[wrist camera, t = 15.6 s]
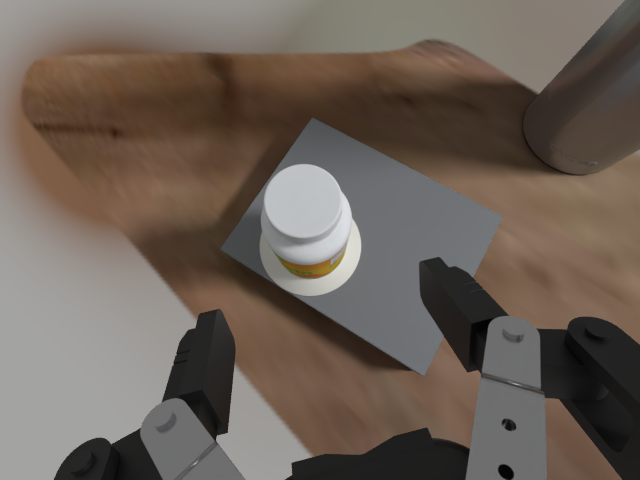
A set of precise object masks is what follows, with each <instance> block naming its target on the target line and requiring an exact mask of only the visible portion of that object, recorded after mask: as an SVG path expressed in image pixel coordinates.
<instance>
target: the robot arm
mask: <svg viewBox="0 0 640 480" xmlns="http://www.w3.org/2000/svg"><path fill="white" fill-rule="evenodd" d="M523 131H524V134H525V138H526V140H527V142H528V144H529V146H530V148H531V149H532V150H533V152H534V153H535V154H536V155H537V156H538V157H539V158H540V159H541V160H543V161H544V162H545V163H546V164H548V165H550V166H552V167H553V168H555V169H558V170H560V171H563V172H566V173H571V174H592V173H597V172H599V171H602V170H604V169H606V168H608V167H610V166H611V165H613V164H615V163H617V162H618V161H620V160H622V159H624V158H625V157H627V156H629V155H631V154H633V153H634V152H636V151H638V150H639V149H640V0H625V1H624V2H623V3H622V4H621V5H620V6H619V7H618V8H617V9H616V10H615V12H614V13H613V14H612V15H611V16H610V17H609V18H608V19H607V20H606V21H605V23H604V24H603V25H602V26H601V27H600V28H599V29H598V30H597V31H596V33H595V34H594V35H593V36H592V37H591V38H590V39H589V40H588V41H587V42H586V43H585V45H584V46H583V47H582V48H581V49H580V50H579V51H578V52H577V53H576V55H575V56H574V57H573V58H572V59H571V60H570V61H569V62H568V63H567V64H566V65H565V66H564V68H563V69H562V70H561V71H560V72H559V73H558V74H557V75H556V76H555V77H554V79H553V80H552V81H551V82H550V83H549V84H548V85H547V86H546V87H545V88H544V90H543V91H542V92H541V93H540V94H539V95H538V96H537V97H536V98H535V99H534V101H533V102H532V103H531V104H530V105H529V106H528V108H527V110H526V112H525V115H524V119H523ZM419 283H420V296H421V299H422V302H423V304H424V306H425V308H426V309H427V311H428V312H429V314H430V315H431V317H432V318H433V320H434V322H435V323H436V325H437V326H438V328H439V329H440V331H441V332H442V334H443V335H444V337H445V339H446V340H447V342H448V343H449V345H450V346H451V348H452V349H453V351H454V352H455V354H456V356H457V357H458V359H459V360H460V362H461V363H462V365H463V366H464V368H465V369H466V371H467V373H468V372H471V371H475V370H479V372H480V373H481V378H480V385H479V391H478V398H477V405H476V412H475V419H474V425H473V432H472V439H471V446H470V449H469V448H467V447H465V446H463V445H461V444H458V443H456V442H452V441H449V440H444V439H438V438H432V437H431V435H430V433H429V430H428V428H423V429H419V430H415V431H412V432H408V433H404V434H400V435H396V436H394V437H392V438H390V439H388V440H387V441H385V442H383V443H382V444H380V445H378V446H377V447H375V448H373V449H372V450H370V451H368V452H367V453H365V454H362V455H342V454H324V455H320V456H316V457H312V458H308V459H305V460H301V461H297V462H293V463H292V476H290V477H288V478H287V479H285V480H547V464H546V421H545V398H556V399H559V400H560V401H561V402H562V403H563V405H564V406H565V407H566V409H567V410H568V411H569V412H570V414H571V415H572V416H573V417H574V419H575V420H576V421H577V422H578V424H579V425H580V426H581V428H582V429H583V430H584V431H585V433H586V434H587V435H588V436H589V438H590V439H591V440H592V441H593V443H594V444H595V445H596V447H597V448H598V449H599V450H600V452H601V453H602V454H603V455H604V457H605V458H606V459H607V461H608V462H609V463H610V464H611V466H612V467H613V468H614V469H615V471H616V472H617V473H618V474H619V476H620V477H621V478H622V480H640V345H639V344H638V343H637V342H636V341H635V340H633V339H632V338H631V337H630V336H628V335H627V334H626V333H625V332H624V331H622V330H621V329H620V328H618V327H617V326H616V325H614V324H612V323H610V322H608V321H605V320H602V319H599V318H594V317H578V318H575V319H573V320H571V321H570V323H569V325H568V328H567V330H563V329H537V328H535V327H534V326H533V325H532V324H531V323H529V322H527V321H525V320H523V319H521V318H518V317H513V316H509V315H508V314H507V313H506V312H505V311H504V310H503V309H502V308H501V307H500V306H499V305H498V304H497V303H496V302H495V300H494V299H493V298H492V297H491V296H490V295H489V294H488V293H487V292H486V291H485V290H483V288H482V287H481V286H480V285H479V284H478V283H476V281H475V279H474V278H473V277H472V276H471V275H470V274H469V273H468V272H466V271H464V270H462V269H460V268H458V267H456V266H453V267H448V266H447V265H446V263H445V262H444V261H443V260H442V259H441V258H440V257H436V258H431V259H427V260H423V261H420V262H419ZM234 362H235V342H234V338H233V335H232V333H231V331H230V328H229V326H228V324H227V322H226V319H225V317H224V315H223V313H222V311H221V310H220V309H217V310H213V311H208V312H204V313H200V314H199V316H198V320H197V324H196V328H195V329H191V330H188V331H187V333H186V334H185V335H184V337H183V338H182V339H181V341H180V343H179V346H178V350H177V355H176V356H175V360H174V365H173V366H172V370H171V373H170V376H169V380H168V383H167V387H166V390H165V393H164V397H163V400H162V403H160V404H159V405H157V406H156V407H155V408H154V409H152V410H151V411H150V413H149V414H148V415H147V416H146V418H145V419H144V421H143V423H142V426H141V428H140V429H138V430H137V431H135V432H133V433H131V434H129V435H128V436H126V437H124V438H122V439H120V440H118V441H117V442H115V443H113V444H110V442H109V441H108V440H106V439H105V438H95V439H92V440H89V441H87V442H85V443H83V444H82V445H80V446H79V447H78V448H76V449H75V450H74V451H73V452H72V453H70V455H69V456H68V457H67V458H66V459H65V460H64V462H63V463H62V464H61V466H60V468H59V470H58V471H57V474H56V476H55V478H54V480H245V479H244V477H243V476H242V474H241V473H240V472H239V470H238V469H237V468H236V467H235V465H234V464H233V463H232V461H231V460H230V459H229V457H228V456H227V455H226V454H225V452H224V451H223V450H222V448H221V447H220V445H219V444H218V443H217V442H216V436H217V435H221V434H225V433H228V423H229V413H230V403H231V393H232V383H233V372H234Z"/></svg>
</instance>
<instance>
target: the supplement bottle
mask: <svg viewBox="0 0 640 480" xmlns="http://www.w3.org/2000/svg"><path fill="white" fill-rule="evenodd" d="M351 225H352V213H351V208H350V205H349V202H348V200H347V198H346V197H345V195H344V194H343V193H342V191H341V189H340V187H339V185H338V183H337V181H336V180H335V179H334V177H333V176H332V175H331V174H330V173H328V172H327V171H326V170H324V169H322V168H320V167H317V166H314V165H309V164H298V165H293V166H290V167H287V168H285V169H283V170H282V171H280V172H279V173H277V174H276V175H275V176H274V177H273V178H272V180H271V181H270V183H269V184H268V186H267V188H266V191H265V194H264V205H263V208H262V213H261V228H262V232H263V235H264V238H265V240H266V241H267V243H268V245H269V246H270V248H271V249H272V251H273V252H274V253H275V255H276V256H277V258H278V259H279V261H280V262H281V264H282V265H283V266H284V267H285V268H286V269H287V270H288V271H289V272H290V273H291V274H293V275H295V276H297V277H299V278H303V279H319V278H322V277H325V276H327V275H329V274H330V273H331V272H333V271H334V270H335V269H336V268H337V267H338V266H339V264H340V263H341V261H342V259H343V257H344V255H345V251H346V247H347V243H348V239H349V235H350V231H351Z"/></svg>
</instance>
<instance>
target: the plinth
mask: <svg viewBox="0 0 640 480" xmlns="http://www.w3.org/2000/svg"><path fill="white" fill-rule="evenodd" d="M298 164H309V165H314V166H317V167H320V168H322V169H324V170H326V171H327V172H328V173H330V174H331V175H332V176H333V177H334V179H335V180H336V181H337V183H338V185H339V187H340V189H341V191H342V193H343V194H344V195H345V197H346V198H347V200H348V202H349V205H350V208H351V213H352V225H351V231H350V235H349V239H348V243H347V247H346V251H345V255H344V257H343V259H342V261H341V263H340V264H339V266H338V267H337V268H336V269H335V270H334V271H333V272H331V273H330V274H329V275H327V276H325V277H322V278H319V279H303V278H299V277H297V276H295V275H293V274H291V273H290V272H289V271H288V270H287V269H286V268H285V267H284V266H283V265H282V264H281V262H280V261H279V259H278V258H277V256H276V255H275V253H274V252H273V251H272V249H271V248H270V246H269V245H268V243H267V241H266V240H265V238H264V235H263V232H262V228H261V213H262V208H263V205H264V194H265V191H266V188H267V186H268V184H269V183H270V181H271V180H272V178H273V177H274V176H275V175H276V174H277V173H279V172H280V171H282V170H283V169H285V168H287V167H290V166H293V165H298ZM502 218H503V216H502V215H500V214H498V213H496V212H494V211H492V210H490V209H488V208H486V207H484V206H482V205H480V204H479V203H477V202H475V201H473V200H471V199H469V198H467V197H465V196H463V195H461V194H459V193H457V192H455V191H453V190H452V189H450V188H448V187H446V186H444V185H442V184H440V183H438V182H436V181H434V180H432V179H430V178H428V177H426V176H425V175H423V174H421V173H419V172H417V171H415V170H413V169H411V168H409V167H407V166H405V165H403V164H401V163H399V162H398V161H396V160H394V159H392V158H390V157H388V156H386V155H384V154H382V153H380V152H378V151H376V150H374V149H372V148H371V147H369V146H367V145H365V144H363V143H361V142H359V141H357V140H355V139H353V138H351V137H349V136H347V135H346V134H344V133H342V132H340V131H338V130H336V129H334V128H332V127H330V126H328V125H326V124H324V123H322V122H320V121H319V120H317V119H315V118H313V117H312V118H311V120H310V121H309V123H308V124H307V126H306V127H305V128H304V130H303V131H302V133H301V134H300V136H299V137H298V138H297V140H296V141H295V143H294V144H293V145H292V147H291V148H290V150H289V151H288V153H287V154H286V155H285V157H284V158H283V160H282V161H281V163H280V164H279V165H278V167H277V168H276V170H275V171H274V173H273V174H272V175H271V177H270V178H269V180H268V181H267V183H266V184H265V185H264V187H263V188H262V190H261V191H260V192H259V194H258V195H257V197H256V198H255V200H254V201H253V202H252V204H251V205H250V207H249V208H248V210H247V211H246V212H245V214H244V215H243V217H242V218H241V220H240V221H239V222H238V224H237V225H236V227H235V228H234V230H233V231H232V232H231V234H230V235H229V237H228V238H227V239H226V241H225V242H224V244H223V245H222V247H221V248H220V250H222V251H223V252H224V253H226V254H227V255H228V256H230V257H231V258H233V259H235V260H236V261H238V262H239V263H241V264H243V265H244V266H246V267H247V268H249V269H251V270H252V271H254V272H255V273H257V274H259V275H260V276H262V277H263V278H265V279H267V280H268V281H270V282H271V283H273V284H275V285H276V286H278V287H279V288H281V289H283V290H284V291H286V292H287V293H289V294H291V295H292V296H294V297H296V298H297V299H299V300H300V301H302V302H304V303H305V304H307V305H308V306H310V307H312V308H313V309H315V310H316V311H318V312H320V313H321V314H323V315H324V316H326V317H328V318H329V319H331V320H332V321H334V322H336V323H337V324H339V325H340V326H342V327H344V328H345V329H347V330H348V331H350V332H352V333H353V334H355V335H356V336H358V337H360V338H361V339H363V340H364V341H366V342H368V343H369V344H371V345H373V346H374V347H376V348H377V349H379V350H381V351H382V352H384V353H385V354H387V355H389V356H390V357H392V358H393V359H395V360H397V361H398V362H400V363H401V364H403V365H405V366H406V367H408V368H409V369H411V370H413V371H414V372H416V373H418V374H420V375H422V376H425V374H426V371H427V369H428V367H429V365H430V363H431V361H432V359H433V357H434V355H435V353H436V351H437V349H438V347H439V345H440V343H441V341H442V339H443V337H444V335H443V334H442V332H441V331H440V329H439V328H438V326H437V325H436V323H435V322H434V320H433V318H432V317H431V315H430V314H429V312H428V311H427V309H426V308H425V306H424V304H423V302H422V299H421V296H420V283H419V262H420V261H423V260H427V259H431V258H436V257H440V258H441V259H442V260H443V261H444V262H445V263H446V265H447V266H448V267H453V266H456V267H458V268H460V269H462V270H464V271H466V272H468V273H469V274H470V275H471V276H472V277H474V275H475V273H476V271H477V269H478V266H479V264H480V262H481V260H482V258H483V256H484V254H485V252H486V250H487V248H488V246H489V244H490V242H491V240H492V238H493V236H494V234H495V232H496V230H497V228H498V226H499V224H500V222H501V220H502Z"/></svg>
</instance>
